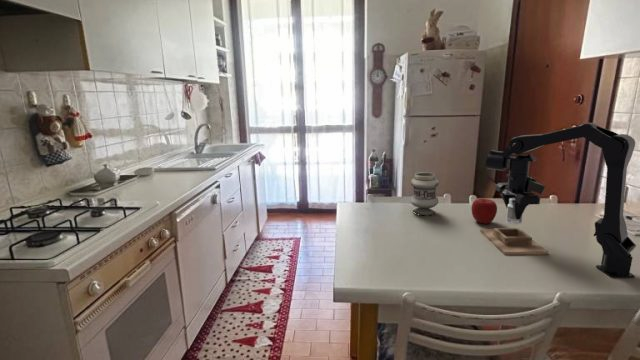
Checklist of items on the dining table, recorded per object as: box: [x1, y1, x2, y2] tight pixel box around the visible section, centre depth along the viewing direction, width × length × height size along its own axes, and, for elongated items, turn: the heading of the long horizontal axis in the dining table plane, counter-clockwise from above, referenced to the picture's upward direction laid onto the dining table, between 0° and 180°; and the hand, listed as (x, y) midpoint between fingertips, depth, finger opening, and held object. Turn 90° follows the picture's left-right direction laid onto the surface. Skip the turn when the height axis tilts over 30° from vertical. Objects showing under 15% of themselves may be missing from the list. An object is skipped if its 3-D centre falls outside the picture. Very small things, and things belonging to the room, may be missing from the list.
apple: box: [471, 198, 498, 225], centre depth 143 cm, size 10×10×10 cm
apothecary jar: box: [410, 171, 440, 217], centre depth 156 cm, size 12×12×18 cm
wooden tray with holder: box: [479, 227, 549, 256], centre depth 124 cm, size 20×14×4 cm
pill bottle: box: [505, 198, 523, 225], centre depth 121 cm, size 5×5×8 cm
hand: (514, 216), depth 122 cm, fingers closed on pill bottle, 5 cm apart
